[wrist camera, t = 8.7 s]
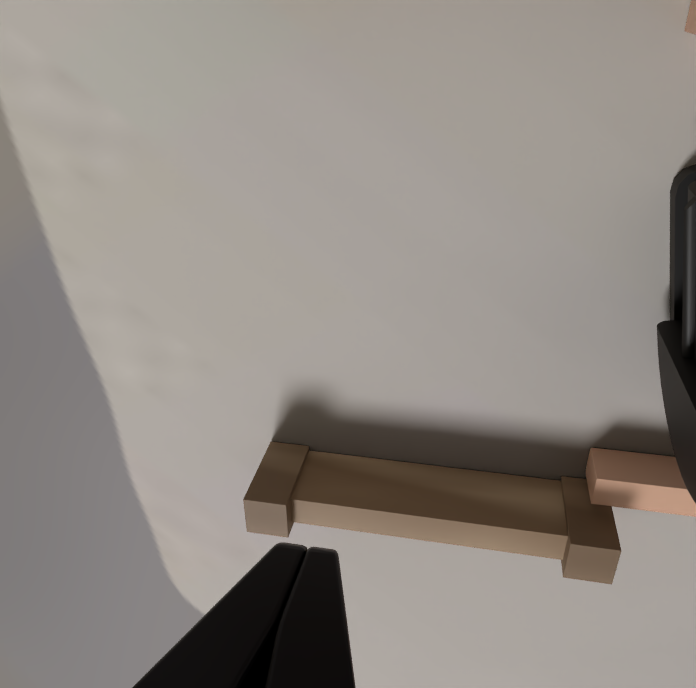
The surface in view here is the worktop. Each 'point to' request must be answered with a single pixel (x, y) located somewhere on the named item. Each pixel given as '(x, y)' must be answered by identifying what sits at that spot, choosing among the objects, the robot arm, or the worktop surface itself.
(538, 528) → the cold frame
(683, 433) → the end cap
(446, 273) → the worktop surface
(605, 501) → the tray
